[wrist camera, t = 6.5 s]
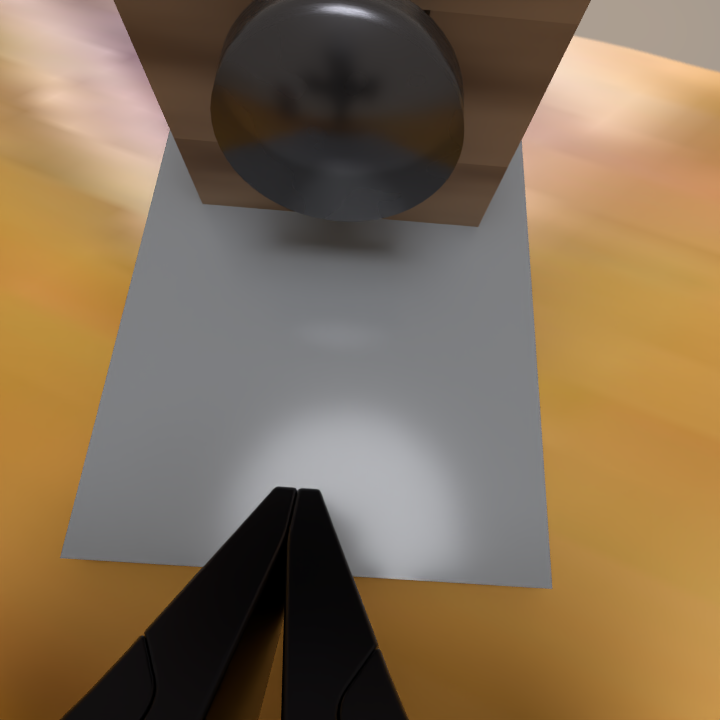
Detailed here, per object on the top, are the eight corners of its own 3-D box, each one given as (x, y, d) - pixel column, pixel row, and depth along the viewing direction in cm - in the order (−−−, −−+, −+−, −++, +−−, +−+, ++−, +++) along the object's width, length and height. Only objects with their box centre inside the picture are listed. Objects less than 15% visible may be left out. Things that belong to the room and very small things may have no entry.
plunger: (434, 229, 15) (502, 32, 9) (239, 213, 15) (171, 1, 9) (437, 7, 18) (487, -244, 12) (279, -8, 18) (249, -271, 12)
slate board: (538, 583, 15) (552, 588, 14) (78, 554, 14) (59, 557, 13) (507, 71, 22) (515, 51, 21) (203, 42, 22) (197, 21, 21)
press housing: (477, 227, 18) (592, -4, 10) (202, 203, 18) (90, -53, 10) (473, 48, 21) (556, -236, 13) (240, 25, 21) (179, -278, 13)
